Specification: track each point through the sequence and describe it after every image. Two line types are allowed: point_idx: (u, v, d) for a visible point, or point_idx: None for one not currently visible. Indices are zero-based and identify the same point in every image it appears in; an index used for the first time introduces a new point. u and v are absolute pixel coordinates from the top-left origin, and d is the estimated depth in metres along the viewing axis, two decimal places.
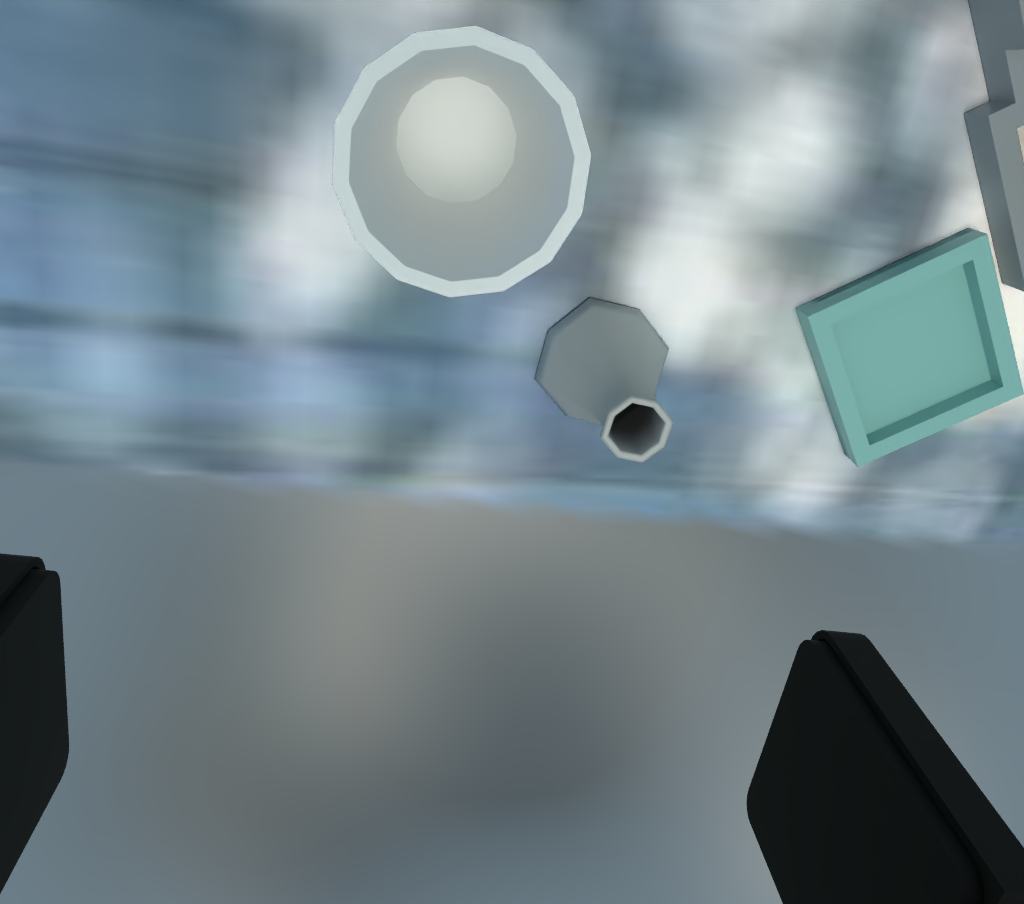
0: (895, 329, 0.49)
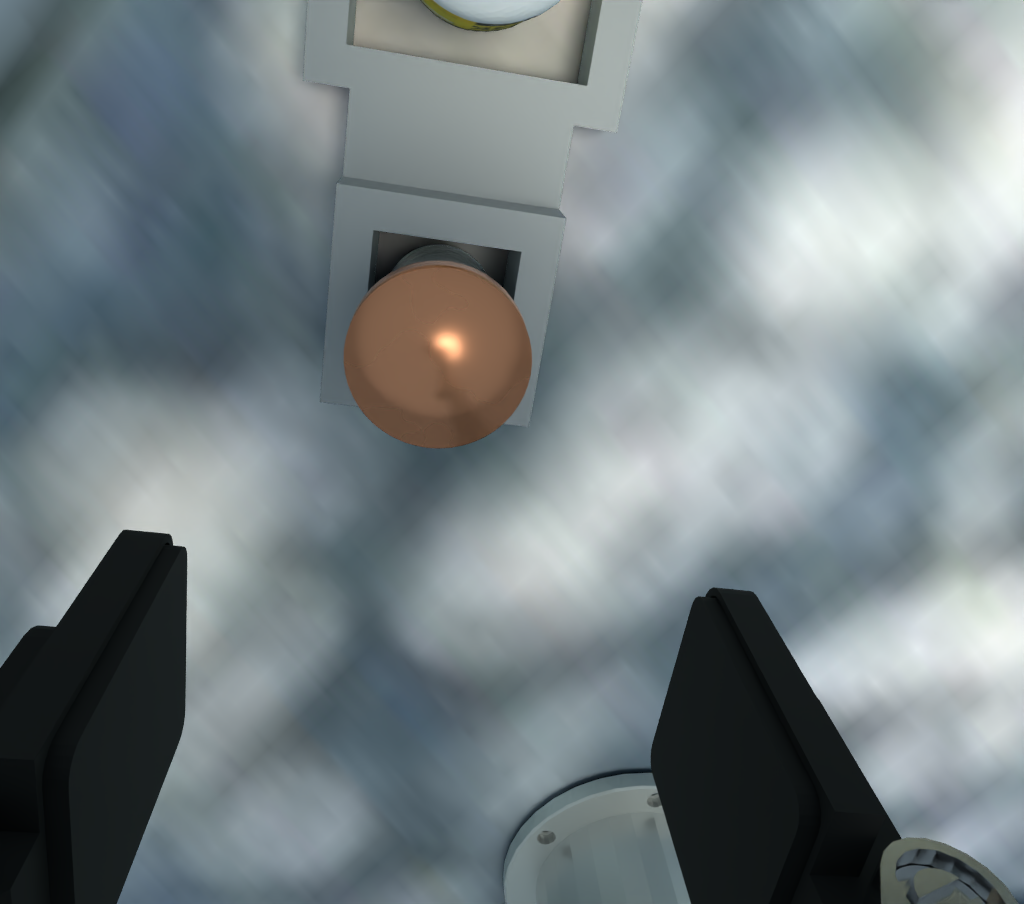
0: None
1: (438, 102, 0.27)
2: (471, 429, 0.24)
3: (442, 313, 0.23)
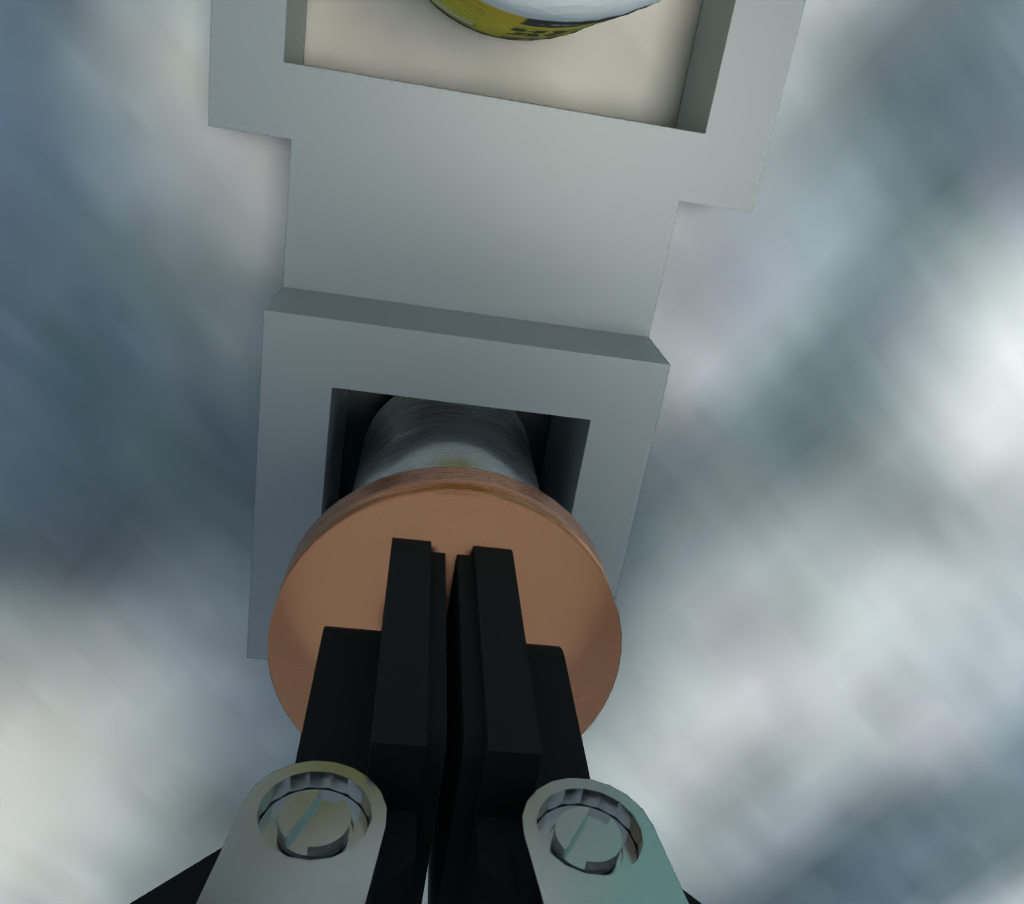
0: None
1: (447, 162, 0.15)
2: None
3: None
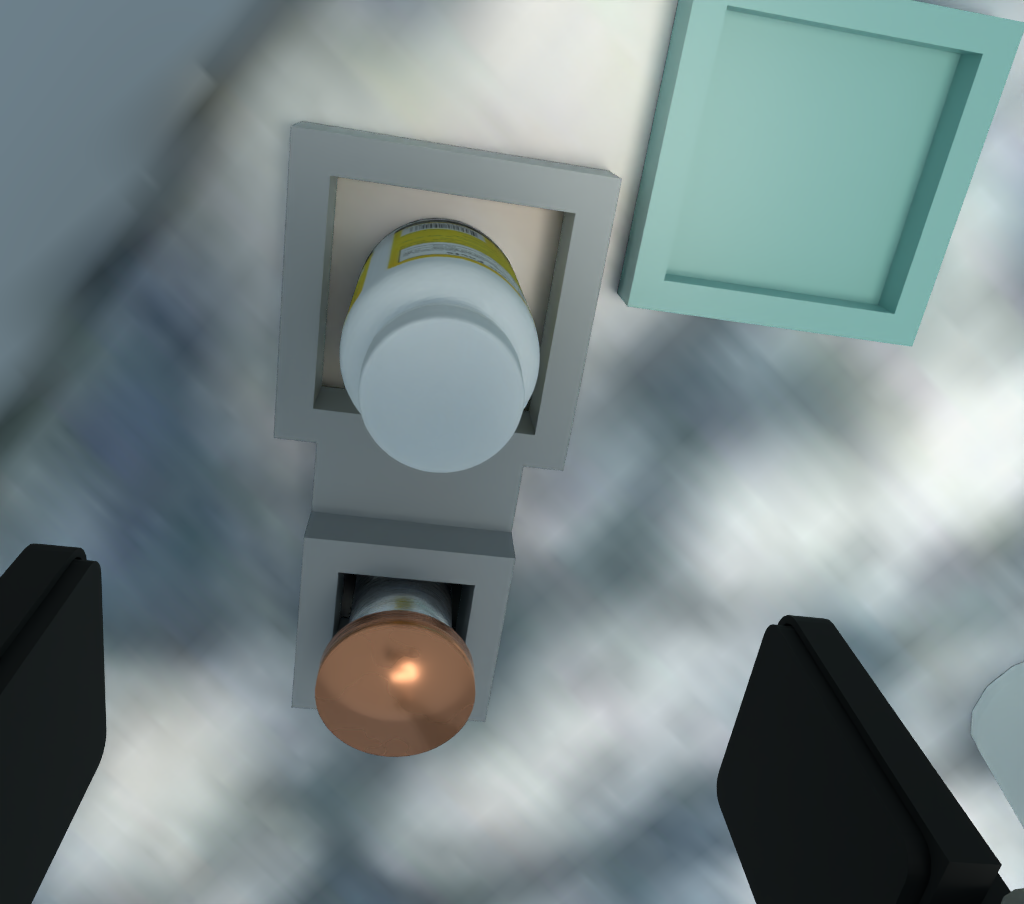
0: (800, 216, 0.29)
1: None
2: (425, 742, 0.28)
3: (398, 660, 0.27)
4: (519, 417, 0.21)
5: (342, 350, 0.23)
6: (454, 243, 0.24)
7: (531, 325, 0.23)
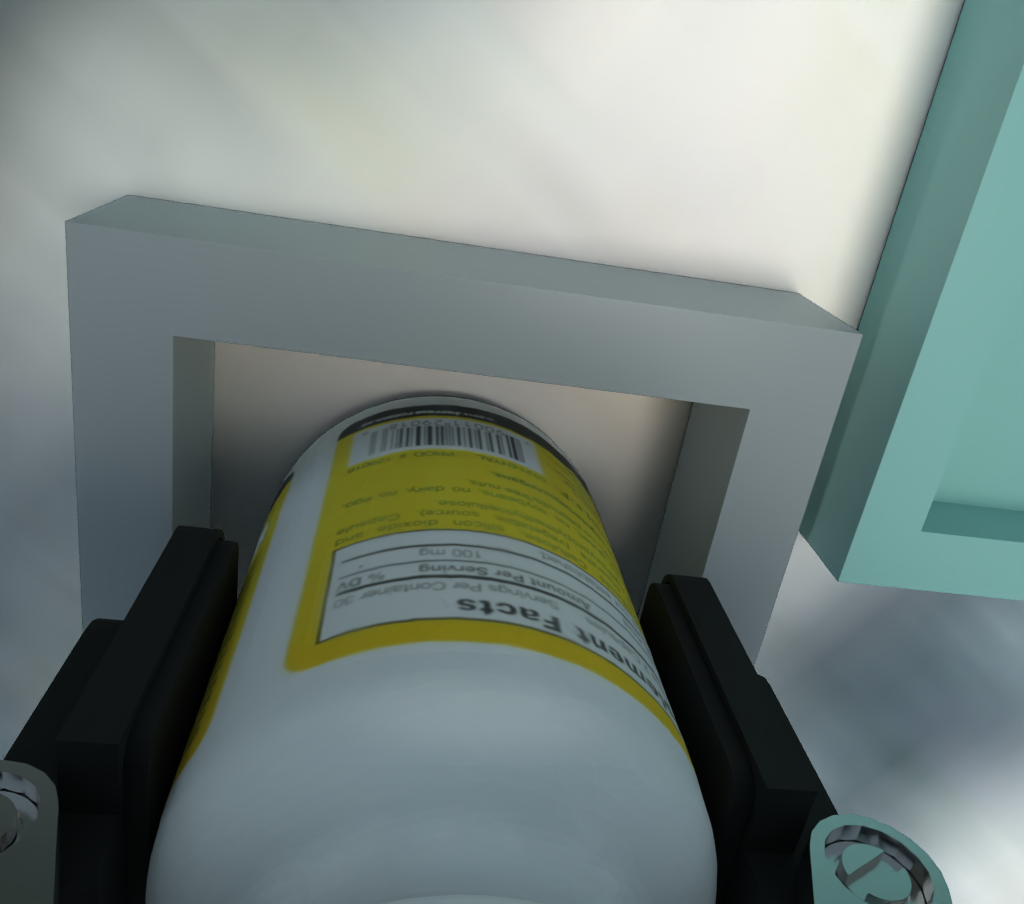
0: None
1: None
2: None
3: None
4: None
5: None
6: (475, 532, 0.09)
7: (704, 829, 0.08)
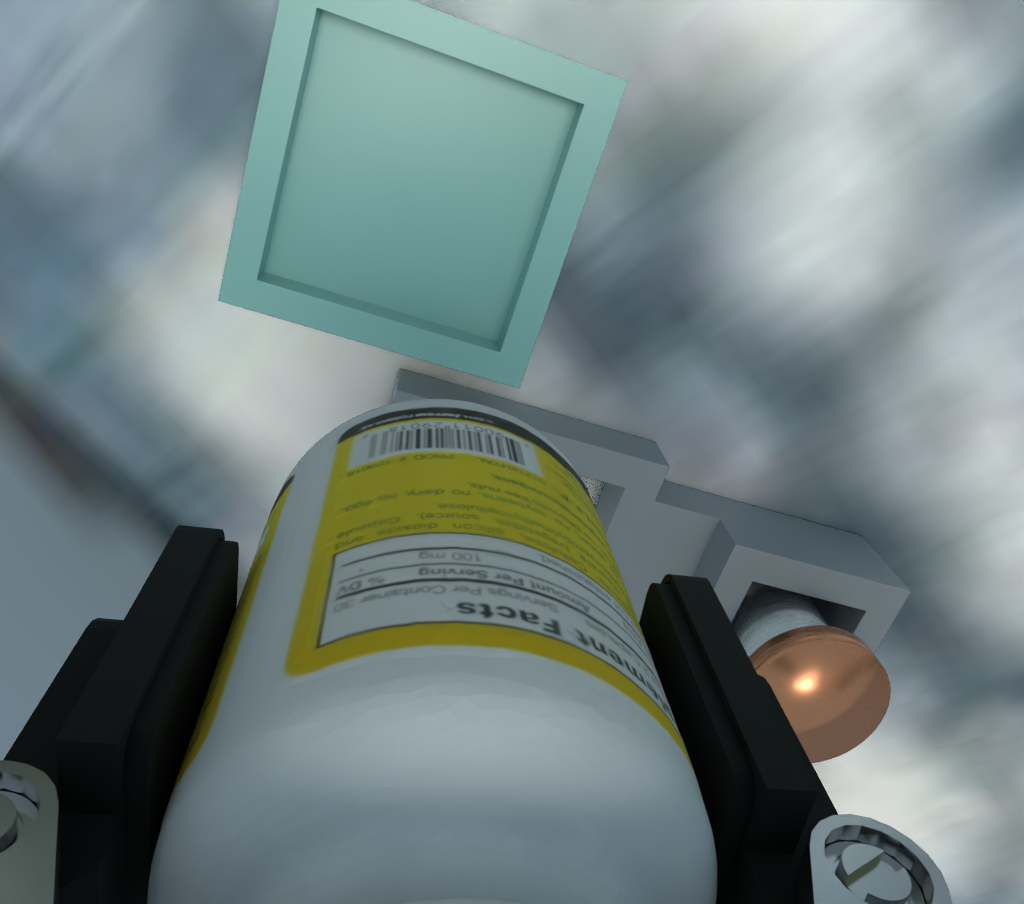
0: (466, 192, 0.28)
1: None
2: (879, 690, 0.29)
3: (779, 699, 0.29)
4: None
5: None
6: (475, 535, 0.09)
7: (704, 831, 0.08)
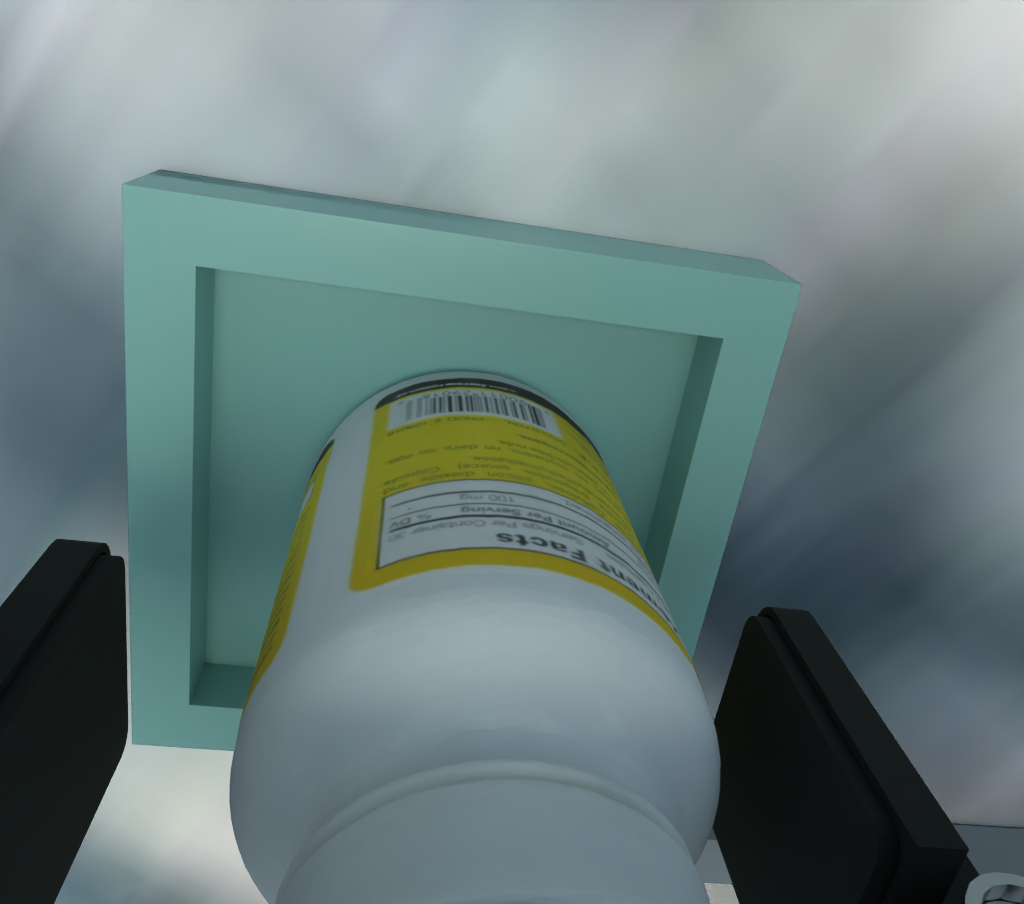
0: None
1: None
2: None
3: None
4: None
5: (233, 801, 0.09)
6: (508, 481, 0.11)
7: (710, 729, 0.09)
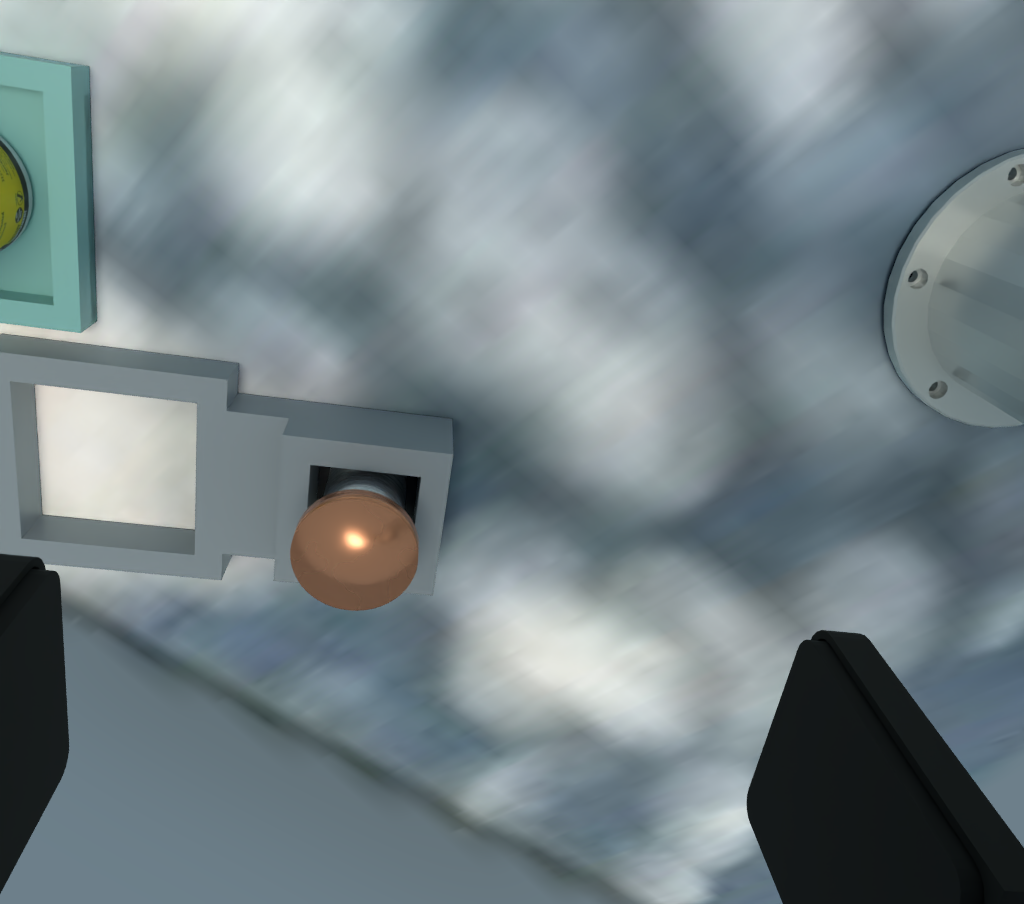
0: None
1: (223, 500, 0.38)
2: (403, 536, 0.34)
3: (320, 555, 0.34)
4: None
5: None
6: None
7: None
